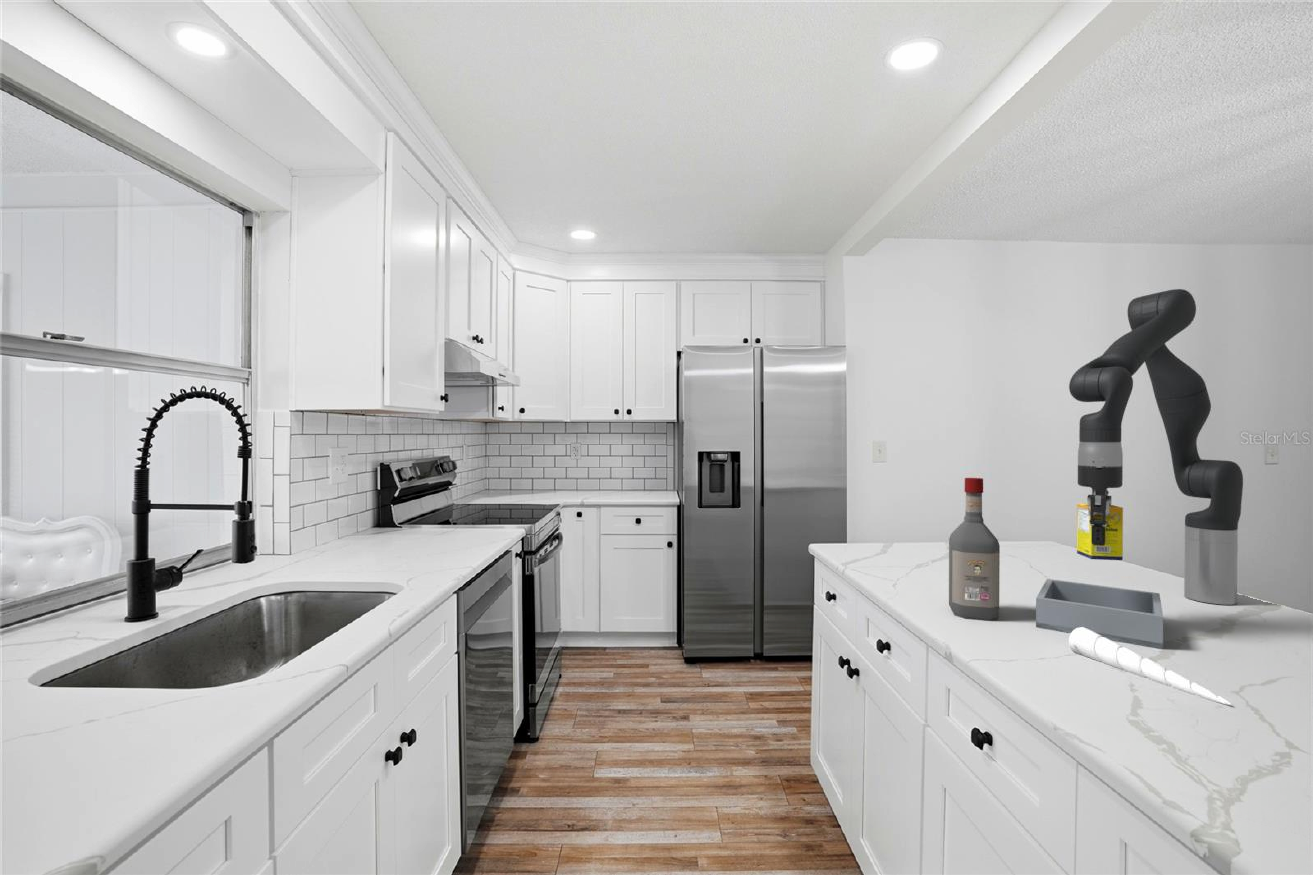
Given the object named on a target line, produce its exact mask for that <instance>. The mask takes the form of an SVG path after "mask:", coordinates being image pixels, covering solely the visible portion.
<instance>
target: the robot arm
mask: <svg viewBox="0 0 1313 875" xmlns="http://www.w3.org/2000/svg"><path fill="white" fill-rule="evenodd" d="M1196 313H1197V304H1196V301H1195V298H1194V296H1193V295H1192V293H1190V291H1188V290H1186V289H1183V288H1177V289H1175V288H1174V289H1169V290H1164V291H1160V292H1155V293H1151V294H1147V295H1146V294H1145V295H1142V296H1137V297H1135V298H1133V299H1131V301H1129V303H1128V306H1127V319H1128V322H1129V326H1130V329H1131V331H1129V332H1127V333H1125V334H1123V335H1122V336H1121V337H1119V338H1118V339H1116V340H1115V341H1113V342H1112V344H1111V345H1110V346H1109V347H1107V349H1106V350H1105V351H1104V352H1103V354H1102V355H1100V356H1099V357H1096V358H1094V359H1092V360H1091V361H1089V362H1088V363H1086V364H1084V365H1082V366H1081V367H1080V368H1078V369H1077V370H1076V371H1075V372H1074V373H1073V375H1072V376H1071V378H1070V380H1069V383H1068V390H1069V393H1070V395H1071V396H1072V398H1073V399H1075V400H1076V401H1078V402H1082V403H1093V402H1094V403H1095V402H1097V403H1098V402H1099V403H1100V402H1104V404H1103V406H1102V407H1101V409H1100V410H1099V411H1096V412H1091V413H1087V414H1084V415H1082V416H1081V417H1080V419H1079V430H1078V431H1079V435H1078V437H1079V443H1078V450H1077V484H1078V486H1080V487H1084V488H1085V487H1087V488H1091V491H1092V492H1091V494H1088V495H1087V496H1086V497H1087V498H1086V499H1087V504H1088V505H1089V507H1090V506H1091V507H1090V509H1089V507H1088V514H1089V515H1090V524H1091V526H1092V540H1091V542H1092V544H1093V545H1100V546H1103V545H1105V527H1106V526H1107V523H1106V518H1108V517H1109V507H1110V506H1111V505H1112V495H1109V490H1108V489H1119V488H1121V487H1122V486H1123V478H1124V477H1123V473H1124V472H1123V463H1124V462H1123V461H1124V460H1123V459H1124V458H1123V457H1124V455H1123V448H1122V425H1123V424H1122V423H1123V419H1124V415H1125V411H1126V408H1127V406H1128V403H1129V399H1130V397H1131V394H1132V391H1133V388H1134V380H1133V377H1132V376H1134V375H1135V374H1136V373H1137V371H1139V369H1140V368H1141V367H1142V365H1143V364H1145V366H1146V369H1147V373H1148V376H1149V379H1150V382H1151V386H1152V391H1153V394H1154V398H1155V400H1156V401H1155V402H1156V405H1157V407H1158V411H1159V414H1160V417H1161V419H1162V422H1163V427H1164V429H1165V434H1166V438H1167V441H1168V445H1169V452H1170V456H1171V463H1172V469H1173V475H1174V478H1175V483H1176V485H1177V487H1178V489H1179V491H1180V492H1181V494H1183V495H1185V496H1187V497H1192V498H1197V499H1198V498H1199V499H1210V503H1209V505H1208V507H1206V508H1204V509H1203V510H1199V511H1193V512H1192V511H1191V512H1189V513H1186V515H1185V518H1184V578H1183V580H1184V581H1183V582H1184V586H1183V588H1184V589H1183V596H1184V597H1185V598H1187V599H1189V600H1193V601H1197V602H1200V603H1201V602H1202V603H1207V604H1214V605H1223V606H1224V605H1226V606H1227V605H1228V606H1229V605H1232V606H1233V605H1236V604H1237V603H1238V549H1239V548H1238V544H1239V543H1238V539H1239V538H1238V534H1239V533H1238V532H1239V530H1238V529H1239V521H1240V518H1241V513H1242V500H1243V489H1244V488H1243V487H1244V475H1243V471H1242V469H1241V467H1240V465H1239V464H1238V463H1236V462H1235V461H1232V460H1220V459H1202V458H1200V457H1201V456H1200V455H1199V452H1198V450H1199V449H1198V446H1197V441H1198V437H1199V434H1200V432H1201V431H1202V429H1203V427H1204V425H1205V423H1206V422H1207V420H1208V418H1209V417H1210V416H1209V415H1210V413H1211V409H1212V405H1211V404H1212V403H1211V399H1210V396H1209V392H1208V389H1207V385H1206V381H1205V380H1204V379H1203V377H1202V376H1201V374H1199V373H1198V372H1197V371H1196V370H1195V369H1193V367H1191V366H1190V365H1188V364H1187V363H1186V362H1184V361H1183V360H1181V358H1179V357H1177V355H1175V354H1174V353H1173V352H1172V351H1171V350H1170V349H1169V348H1168V347H1167V344H1166V343H1167V342H1169V341H1171V339H1173V338H1174V337H1175V336H1177V335H1178V334H1180V333H1181V332H1182V331H1184V330H1185V329H1186V328H1188V327H1189V326H1190V325H1191V324H1192V323H1193V321H1194V320H1195V317H1196ZM1094 516H1098V517H1102V518H1103V520H1102V519H1096V518H1094Z"/></svg>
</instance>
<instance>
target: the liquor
mask: <svg viewBox="0 0 1313 875" xmlns="http://www.w3.org/2000/svg"><path fill="white" fill-rule="evenodd" d="M964 493H965V511H964V512H965V515H964V518H963V521H962V522H961V523H960V524H959V525H958V526H957V527H956V528H955V529H954V530H953V531H952V532H951V533H950V536H949V538H948V606H949V608H950V609H951V612H952V614H953V615H954V616H956V617H959V618H963V619H969V620H977V621H978V620H979V621H981V620H982V621H993V620H997V619H998V618H999V616H1000V561H1001V560H1000V558H1001V556H1000V555H1001V554H1000V553H1001V552H1000V551H1001V550H1000V549H1001V548H1000V547H1001V546H1000V543H999V539H998V538H997V537H996V536H995V535H994V534H993V533H992V531H991V530H990V529H989V528H988V526H987V525H986V524H985V523H984V518H983V493H984V478H982V477H965V478H964Z"/></svg>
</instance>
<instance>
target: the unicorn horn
mask: <svg viewBox="0 0 1313 875" xmlns="http://www.w3.org/2000/svg"><path fill="white" fill-rule="evenodd" d="M1068 644H1069V645H1068V646H1069V648H1070V649H1071V651H1072V652H1073V653H1075V654H1079V655H1081V656H1084V657H1087V658H1089V659H1092V660H1095V661H1096V662H1097V661H1098V662H1101V663H1104V665H1105V664H1106V665H1109V666H1112V667H1114V668H1116V669H1119V670H1123V671H1125V672H1128V673H1131V674H1134V675H1137V676H1139V677H1141V678H1146V679H1148V680H1151V681H1153V682H1156V683H1159V684H1162V685H1165V686H1166V687H1167V686H1168V687H1171V688H1173V689H1175V690H1176V689H1177V690H1179V691H1182V692H1184V693H1188V694H1191V695H1193V696H1197V697H1200V698H1202V699H1206V700H1209V701H1212V702H1214V703H1219V704H1223V705H1228V706H1233V704H1232V703H1231V702H1230V701H1229V700H1227V699H1225V698H1223V697H1222V696H1220V695H1217V694H1216V693H1215V692H1213V691H1211V690H1209V689H1207V688H1205V687H1203V686H1202V685H1200V684H1198V683H1196V682H1194V681H1193V682H1191V680H1190V679H1189V678H1186V677H1184V676H1183V675H1181V674H1179V673H1177V672H1175V671H1173V670H1171V669H1169V670H1167V668H1166V667H1165V666H1163V665H1162V664H1159V663H1157V662H1156V661H1153V660H1151V659H1150V658H1147V657H1146V658H1144V656H1143V655H1141V654H1139V653H1137V652H1135V651H1133V650H1131V649H1129V648H1127V647H1125V646H1122V645H1121V644H1119V643H1116V641H1113V640H1109V639H1107V638H1105V637H1102V636H1101V635H1099V634H1097V633H1095V632H1093V631H1091V630H1089V629H1087V628H1084V627H1080V628H1076V629H1075V630H1073V631H1072V633H1069V637H1068Z"/></svg>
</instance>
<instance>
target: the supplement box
mask: <svg viewBox="0 0 1313 875" xmlns="http://www.w3.org/2000/svg"><path fill="white" fill-rule="evenodd" d="M1076 507H1077V508H1076V516H1077V517H1076V519H1077V520H1076V530H1077V531H1076V534H1077V535H1076V538H1077V539H1076V544H1077V545H1076V554H1078V555H1080V556H1083V557H1085V558H1087V559H1090V560H1096V561H1097V560H1100V561H1102V560H1103V561H1105V560H1106V561H1123V558H1124V556H1123V550H1124V549H1123V546H1124V543H1123V541H1124V540H1123V538H1124V537H1123V536H1124V534H1123V532H1124V530H1123V529H1124V527H1123V526H1124V525H1123V524H1124V523H1123V522H1124V507H1122V506H1117V505H1114V504H1111V506H1110V507H1109V517H1108V518H1106V523H1107V526H1106V527H1105V545H1103V546H1100V545H1093V544H1092V542H1091V540H1092V526H1091V524H1090V515H1089V514H1088V507H1089V505H1088V502H1087V503H1084V502H1082V503H1080V502H1078V503H1076ZM1090 507H1091V506H1090ZM1090 507H1089V509H1090ZM1094 518H1096V519H1102V520H1103V518H1102V517H1098V516H1094Z"/></svg>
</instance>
